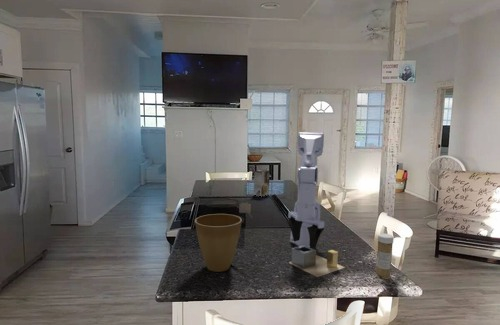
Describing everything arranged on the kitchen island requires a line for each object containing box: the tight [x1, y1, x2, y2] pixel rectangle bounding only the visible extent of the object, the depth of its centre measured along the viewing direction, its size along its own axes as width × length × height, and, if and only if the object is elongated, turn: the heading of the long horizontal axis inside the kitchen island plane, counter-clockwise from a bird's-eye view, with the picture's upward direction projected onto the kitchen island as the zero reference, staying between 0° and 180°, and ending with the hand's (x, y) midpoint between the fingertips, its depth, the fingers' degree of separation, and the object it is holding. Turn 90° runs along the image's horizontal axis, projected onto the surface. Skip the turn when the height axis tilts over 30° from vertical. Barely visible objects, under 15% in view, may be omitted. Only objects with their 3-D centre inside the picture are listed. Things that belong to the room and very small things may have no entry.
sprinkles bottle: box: [375, 233, 394, 280], centre depth 109 cm, size 5×5×13 cm
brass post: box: [326, 249, 339, 268], centre depth 114 cm, size 2×2×6 cm
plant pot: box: [194, 213, 243, 273], centre depth 113 cm, size 15×15×16 cm
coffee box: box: [253, 169, 270, 198], centre depth 225 cm, size 9×6×16 cm
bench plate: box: [288, 254, 346, 278], centre depth 115 cm, size 13×13×1 cm
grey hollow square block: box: [290, 245, 317, 269], centre depth 115 cm, size 6×6×5 cm
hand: (304, 243), depth 115 cm, fingers open, 7 cm apart
